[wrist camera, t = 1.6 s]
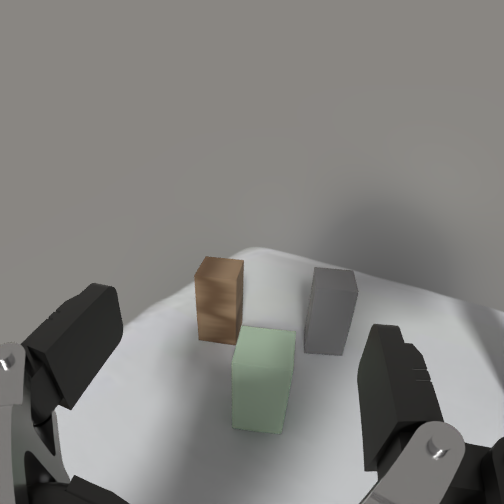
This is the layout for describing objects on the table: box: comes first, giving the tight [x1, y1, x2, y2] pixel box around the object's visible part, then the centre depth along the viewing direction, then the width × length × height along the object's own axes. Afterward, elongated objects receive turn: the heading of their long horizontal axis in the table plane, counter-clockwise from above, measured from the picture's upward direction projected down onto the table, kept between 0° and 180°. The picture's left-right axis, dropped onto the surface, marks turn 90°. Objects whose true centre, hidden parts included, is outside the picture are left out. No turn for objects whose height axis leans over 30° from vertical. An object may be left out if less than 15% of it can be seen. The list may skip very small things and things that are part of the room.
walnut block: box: [194, 257, 244, 345], centre depth 42 cm, size 5×5×10 cm
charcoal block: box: [304, 267, 358, 356], centre depth 40 cm, size 5×5×10 cm
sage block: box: [231, 326, 296, 434], centre depth 29 cm, size 5×5×10 cm
